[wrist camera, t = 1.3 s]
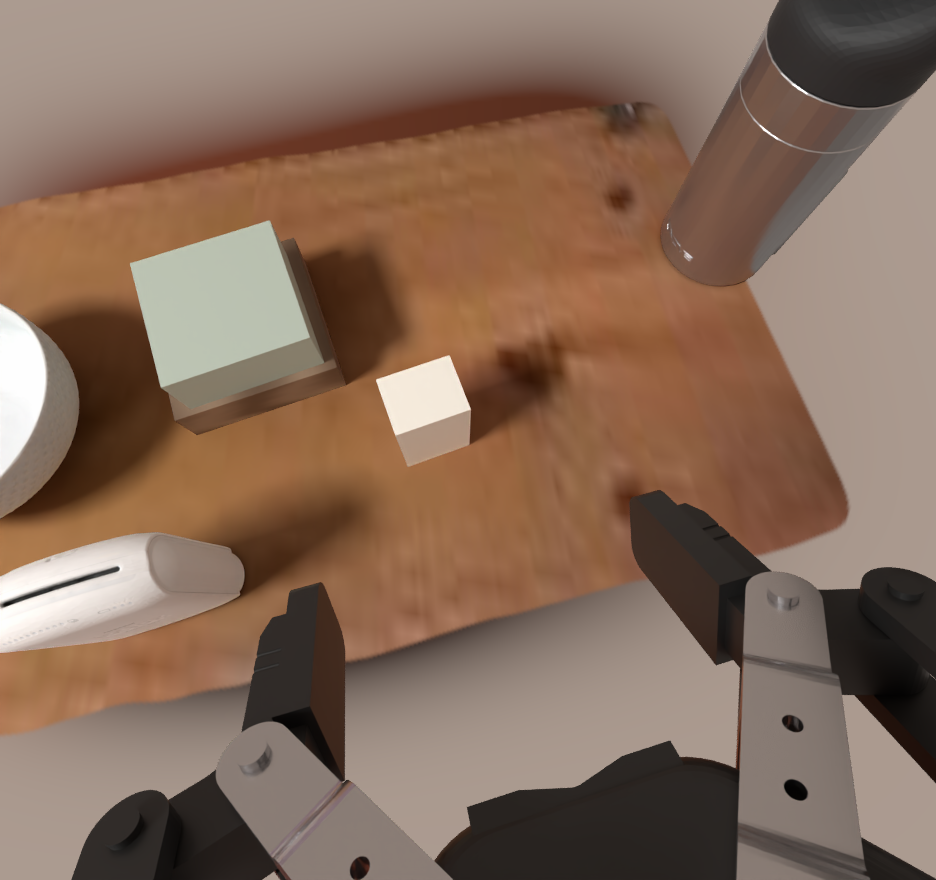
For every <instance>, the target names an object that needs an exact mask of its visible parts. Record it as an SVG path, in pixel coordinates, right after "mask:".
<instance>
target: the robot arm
mask: <svg viewBox="0 0 936 880" xmlns="http://www.w3.org/2000/svg"><path fill="white" fill-rule="evenodd" d="M935 70H936V0H779V2H778V3H777V5H776V8H775V9H774V11H773V13H772V15H771V17H770V19H769V21H768V23H767V25H766V27H765V29H764V31H763V33H762V34H761V36H760V38H759V40H758V42H757V44H756V46H755V48H754V50H753V52H752V53H751V55H750V57H749V59H748V61H747V63H746V65H745V67H744V69H743V71H742V73H741V75H740V77H739V78H738V81H737V83H736V84H735V86H734V88H733V90H732V92H731V94H730V96H729V98H728V99H727V101H726V103H725V105H724V107H723V109H722V111H721V113H720V115H719V116H718V119H717V120H716V122H715V124H714V126H713V128H712V130H711V132H710V134H709V135H708V137H707V139H706V141H705V143H704V145H703V147H702V149H701V151H700V153H699V154H698V157H697V158H696V160H695V162H694V164H693V166H692V168H691V169H690V171H689V173H688V175H687V177H686V179H685V181H684V183H683V185H682V186H681V188H680V190H679V192H678V194H677V196H676V198H675V200H674V202H673V203H672V205H671V207H670V209H669V211H668V213H667V215H666V217H665V219H664V221H663V224H662V227H661V242H662V247H663V249H664V252H665V254H666V256H667V258H668V259H669V260H670V262H671V263H672V264H673V265H674V266H675V267H676V268H677V269H678V270H679V271H680V272H681V273H683V274H684V275H686V276H687V277H689V278H691V279H693V280H695V281H698V282H700V283H704V284H708V285H714V286H727V285H734V284H737V283H740V282H743V281H745V280H747V279H748V278H750V277H751V276H753V275H754V274H755V273H756V272H757V271H758V270H759V269H760V267H761V266H762V265H763V264H764V263H765V262H766V261H767V260H768V258H769V257H770V256H771V255H773V254H775V253H776V252H777V251H778V250H779V249H780V248H781V246H782V245H783V244H784V243H785V242H786V241H787V240H788V239H789V237H790V236H791V235H792V234H793V233H794V232H795V231H796V230H797V228H798V227H799V226H800V225H801V224H802V223H803V222H804V221H805V219H806V218H807V217H808V216H809V215H810V214H811V213H812V212H813V210H815V208H816V207H817V206H818V205H819V204H820V202H822V201H823V199H824V198H825V197H826V196H827V195H828V194H829V193H830V192H831V190H832V189H833V188H834V187H835V186H836V185H837V184H838V183H839V182H840V180H841V179H842V178H843V177H844V176H845V175H846V173H847V171H848V169H849V168H850V166H851V165H852V164H853V163H854V162H855V161H856V160H857V158H858V157H859V156H860V155H861V154H862V153H863V152H864V151H865V149H866V148H867V147H868V146H869V145H870V144H871V143H872V142H873V140H874V139H875V138H876V137H877V136H878V135H879V133H880V132H881V131H882V130H883V129H884V128H885V127H886V125H887V124H888V123H889V122H890V121H891V120H892V118H893V117H894V116H895V115H896V114H897V113H898V112H899V111H900V110H901V109H902V107H903V106H904V105H905V104H906V103H907V102H908V101H909V99H910V98H911V97H912V96H913V95H914V94H915V93H916V92H917V90H918V89H919V88H920V87H921V86H922V85H923V84H924V83H925V82H926V81H927V79H928V78H929V77H930V76H931V75H932V74H933V73H934V71H935ZM630 523H631V542H632V550H633V553H634V557H635V559H636V561H637V563H638V565H639V567H640V568H641V570H642V571H643V572H644V574H645V575H646V576H647V578H648V579H649V580H650V581H651V583H652V584H653V585H654V586H655V588H656V589H657V590H658V592H659V593H660V594H661V595H662V597H663V598H664V599H665V601H666V602H667V603H668V604H669V606H670V607H671V608H672V610H673V611H674V612H675V613H676V614H677V616H678V617H679V618H680V620H681V621H682V622H683V623H684V625H685V626H686V627H687V629H688V630H689V631H690V632H691V634H692V635H693V636H694V638H695V639H696V640H697V641H698V643H699V644H700V645H701V647H702V648H703V649H704V650H705V652H706V653H707V654H708V656H710V658H711V659H712V661H713V662H714V663H715V664H716V665H718V664H722V663H725V662H728V661H731V660H734V661H735V662H736V664H737V665H738V666H739V667H740V678H739V702H738V726H737V749H736V768H733V767H731V766H729V765H726V764H723V763H720V762H716V761H713V760H708V759H703V758H693V757H679V755H678V753H677V752H676V750H675V748H674V746H673V745H672V743H671V741H667V742H664V743H661V744H658V745H655V746H652V747H649V748H646V749H643V750H640V751H636V752H633V753H630V754H627V755H625V756H622V757H620V758H619V759H617V760H616V761H614V762H613V763H612V764H610V765H608V766H607V767H605V768H604V769H603V770H601V771H600V772H598V773H597V774H595V775H594V776H593V777H591V778H589V779H588V780H586V781H585V782H584V783H582V784H581V785H579V786H576V787H573V788H558V789H557V788H556V789H535V790H518V791H515V792H512V793H509V794H506V795H503V796H500V797H497V798H493V799H490V800H488V801H484V802H481V803H478V804H475V805H473V806H469V807H467V810H468V815H469V820H470V826H469V827H468V828H466V829H465V830H463V831H462V832H461V833H459V834H458V835H457V836H456V837H455V838H454V839H453V840H451V842H449V844H448V845H447V846H446V847H445V848H444V849H443V850H442V851H441V852H440V854H439V855H438V856H437V858H436V859H435V861H433V860H432V859H431V858H430V857H429V856H428V855H427V854H426V853H425V852H424V851H423V850H422V849H421V848H420V847H419V846H418V845H417V844H416V843H415V842H414V841H413V840H412V839H411V838H410V837H409V836H408V835H407V834H406V833H405V832H404V831H403V830H401V829H400V828H399V827H398V826H397V825H396V824H395V823H394V822H393V821H392V820H391V819H390V818H389V817H388V816H387V815H386V814H385V813H384V812H383V811H382V810H381V809H380V808H379V807H378V806H377V805H376V804H375V803H374V802H373V801H372V800H371V799H370V798H369V797H368V796H367V795H366V794H364V793H363V792H362V791H361V790H360V789H359V788H358V787H357V786H356V785H355V784H354V783H352V782H351V781H349V780H346V781H345V646H344V640H343V635H342V631H341V628H340V625H339V623H338V620H337V617H336V615H335V612H334V610H333V607H332V605H331V602H330V599H329V597H328V594H327V592H326V589H325V587H324V585H323V583H321V582H320V583H316V584H313V585H309V586H305V587H302V588H298V589H294V590H291V591H290V593H289V598H288V605H287V612H286V614H284V615H280V616H277V617H273V618H272V619H271V620H270V622H269V624H268V625H267V627H266V628H265V630H264V631H263V633H262V634H261V636H260V640H259V646H258V651H257V658H256V661H255V666H254V674H253V676H252V681H251V686H250V692H249V697H248V702H247V707H246V713H245V717H244V722H243V727H242V732H241V733H240V734H239V735H238V736H237V737H236V738H234V739H233V740H232V741H231V742H230V744H229V745H228V746H227V747H226V749H225V750H224V752H223V753H222V755H221V757H220V759H219V762H218V765H217V768H216V770H215V771H214V772H212V773H211V774H210V775H208V776H207V777H205V778H204V779H202V780H201V781H199V782H197V783H196V784H194V785H193V786H191V787H189V788H188V789H186V790H184V791H182V792H181V793H179V794H177V795H176V796H174V797H173V798H171V799H169V800H168V799H167V798H166V797H165V795H164V794H162V793H161V792H158V791H155V790H146V791H142V792H138V793H135V794H134V795H131V796H129V797H127V798H125V799H124V800H122V801H121V802H119V803H118V804H116V805H115V806H114V807H113V808H112V809H110V810H109V811H108V812H107V813H106V814H105V815H104V816H103V817H102V818H101V819H100V820H99V822H98V823H97V824H96V825H95V827H94V828H93V829H92V831H91V833H90V834H89V836H88V838H87V840H86V842H85V844H84V846H83V849H82V851H81V854H80V857H79V860H78V863H77V866H76V868H75V871H74V874H73V877H72V880H262V879H264V878H265V877H267V876H268V875H270V874H271V873H272V872H275V873H276V875H277V876H278V878H279V879H280V880H936V879H935V878H933V877H932V876H930V875H928V874H926V873H924V872H923V871H921V870H919V869H917V868H915V867H914V866H912V865H910V864H908V863H906V862H905V861H903V860H901V859H899V858H897V857H896V856H894V855H892V854H890V853H888V852H887V851H885V850H883V849H881V848H879V847H878V846H876V845H874V844H872V843H871V842H868V841H867V840H865V839H863V838H861V835H860V827H859V820H858V813H857V804H856V797H855V789H854V782H853V774H852V767H851V760H850V753H849V745H848V737H847V730H846V722H845V715H844V707H843V700H842V695H855V696H856V697H857V698H858V700H859V701H860V702H861V703H862V704H863V705H864V706H865V707H866V708H867V709H868V710H869V712H870V713H871V714H872V715H873V716H874V717H875V718H876V719H877V720H878V721H879V722H880V723H881V724H882V726H883V727H884V728H885V729H886V730H887V731H888V732H889V733H890V734H891V735H892V736H893V737H894V739H895V740H896V741H897V742H898V743H899V744H900V745H901V746H902V747H903V748H904V749H905V750H906V752H907V753H908V754H909V755H910V756H911V757H912V758H913V759H914V760H915V761H916V762H917V763H918V765H920V767H921V768H922V769H923V770H924V771H925V772H926V773H927V774H928V775H929V776H930V777H931V779H932V780H934V782H935V783H936V680H935V679H936V582H935V581H933V580H932V579H930V578H928V577H926V576H924V575H922V574H919V573H916V572H913V571H910V570H905V569H900V568H892V567H884V568H877V569H873V570H870V571H869V572H867V573H866V574H865V575H864V576H863V578H862V582H861V587H860V589H838V590H837V589H836V590H817V589H816V587H814V586H813V585H812V584H811V583H809V582H808V581H806V580H804V579H802V578H801V577H798V576H796V575H792V574H789V573H784V572H772V571H771V570H769V569H768V568H767V567H766V566H765V565H764V564H763V563H761V561H759V560H758V559H757V558H756V557H755V556H754V555H753V554H752V553H750V552H749V551H748V550H747V549H746V548H745V547H744V546H743V545H741V544H740V543H739V542H738V541H737V540H736V539H735V538H734V537H730V535H729V533H728V532H727V531H726V530H725V529H724V528H722V527H721V526H720V527H719V525H718V523H717V522H716V521H715V520H713V519H712V518H711V517H710V516H709V515H708V514H707V513H706V512H704V511H702V510H700V509H697V508H695V507H693V506H691V505H688V504H686V503H684V504H680V505H677V504H676V503H674V502H673V501H672V500H671V499H670V498H669V497H668V496H667V495H666V494H665V493H664V492H663V491H661V490H657V491H653V492H650V493H646V494H642V495H639V496H635V497H632V498H631V499H630ZM930 674H931V675H932V676H933V677H934V678H935V679H934V678H933V677H932V676H931V675H930ZM343 781H345V782H344V783H342V782H343Z"/></svg>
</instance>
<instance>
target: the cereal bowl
mask: <svg viewBox="0 0 936 880" xmlns="http://www.w3.org/2000/svg"><path fill="white" fill-rule="evenodd" d="M78 394H79V391H78V388H77V382H76V379H75V377H74V373H73V370H72V369H71V367H70V364H69V361H68V360H67V359H66V358H65V356H64V354H63V352H62V351H61V350H60V349H59V348H58V346H57V344H56V343H55V342H54V341H52V339H51V338H50V337H49V336H48V335H47V334H45V333H44V332H43V331H42V329H40V328H38V327H37V326H36V325H35V324H34V323H33V322H31V321H29V320H27V319H26V318H25V317H24V316H23V315H21V314H19V313H17V312H16V311H15V310H13V309H11V308H8V307H6V306H4V305H3V304H0V518H2V517H4V516H5V515H6V514H8V513H10V512H13V511H14V510H15V509H16V508H18V507H19V506H21V505H23V503H25V502H27V500H28V499H30V498H31V497H32V496H33V495H34V494H36V493H37V492H38V490H40V489H41V488H42V487H43V485H44V484H45V483H46V482H47V481H48V480H49V479H50V478H51V476H52V475H53V474H54V473H55V471H56V470H57V469H58V468H59V465H60V464H61V463H62V461H63V459H64V458H65V457H66V453H67V452H68V450H69V447H70V446H71V443H72V440H73V438H74V434H75V431H76V427H77V422H78V415H79V397H78Z"/></svg>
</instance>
